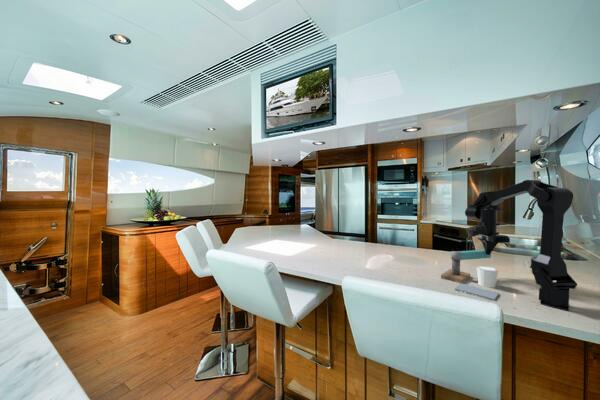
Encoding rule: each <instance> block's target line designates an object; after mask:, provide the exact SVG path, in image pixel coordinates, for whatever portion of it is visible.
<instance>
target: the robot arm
mask: <svg viewBox="0 0 600 400" xmlns="http://www.w3.org/2000/svg"><path fill="white" fill-rule="evenodd" d="M527 193H528V194H529V196H530V197H532V198H534V199H536V204H537V207H538V208H539V210H540V212H541V213H542V215H541V216H542V219H541V235H540V250H539V254H538V255H537V256H531V258H530V266H529V268H530V269H531V273H532V275H533V277H534V280H535V283H536V285H538V286H539V288H538V300H539V303H540V304H541V305H544V306H549V307H553V308H557V309H561V310H564V311H570V290H575V289H576V287H577V286H578V283H577V281H575V279H574V278H572V276H571V275H570V274H569V273H568V269H567V268H568V267H567V263H566V262H565V260H564V259H563V258H562V246H563V245H562V243H563V232H564V231H563V230H564V219H565V217H564V216H565V214H566V212H567V211H568V210H569V209H570V208H571V206H572V202H573V200H574V193H573V191H571V190H570V189H568V188H565V187H558V186H556V185H553V184H548V183H545V182H542V181H541V180H539V179H538V180H537V179H525V180H523V181H522V182H519V183H516V184H511V185H509V186H507V187H503V188H501V189H498V190H492V191H484V192H480V193H478V196H477V198H476V200H475V201H474V203H473V204H468V207H467V208H466V209H465V211H464V214H465V216H466V217H467V218H468V219H476V220H480V221H478V222H477V225H473V226H470V227H466V228H465V231H466V235H467V236H469V237H472V238H473V237H476V236H478V237H476V239H477V240H479V241H480V242H481V243H482V246H483V250H485V252H486V255H490V254H491V255H492V253H493V251H494V249H495V248H496V246H497V245H498V244H500V243H501V244H510V243H511V238H510V237H509V236H508V235H504V234H500V232H498V231H497V226H500V223H499V222H498V218H497V217H498V212H500V211H501V212H502V210H503V209H502V208H501V207H499V206H498V205H500V204H502V203H504V201H505V200H507V199H511V198H515V197H517V196H521V195H524V194H527Z"/></svg>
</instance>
